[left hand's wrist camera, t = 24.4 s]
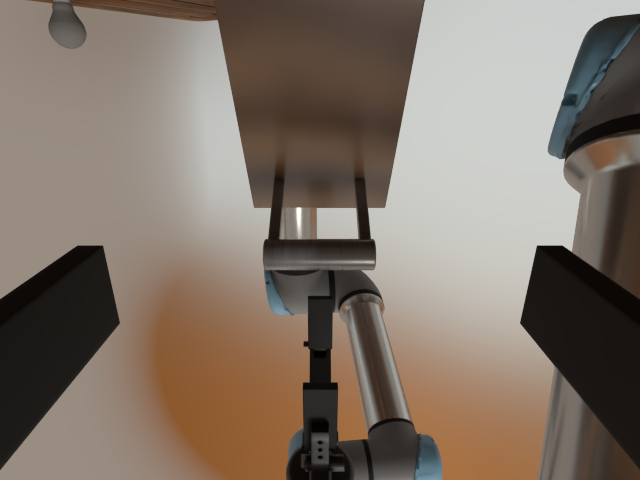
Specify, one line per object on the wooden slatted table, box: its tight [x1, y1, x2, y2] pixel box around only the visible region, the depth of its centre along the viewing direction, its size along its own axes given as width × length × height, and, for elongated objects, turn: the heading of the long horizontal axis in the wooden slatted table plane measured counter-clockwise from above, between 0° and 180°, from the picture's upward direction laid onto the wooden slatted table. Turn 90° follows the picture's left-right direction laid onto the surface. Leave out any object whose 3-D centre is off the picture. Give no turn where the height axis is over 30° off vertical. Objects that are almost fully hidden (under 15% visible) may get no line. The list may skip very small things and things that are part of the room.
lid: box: [214, 0, 425, 270], centre depth 22 cm, size 16×10×8 cm
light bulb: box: [49, 0, 86, 49], centre depth 75 cm, size 6×6×10 cm
